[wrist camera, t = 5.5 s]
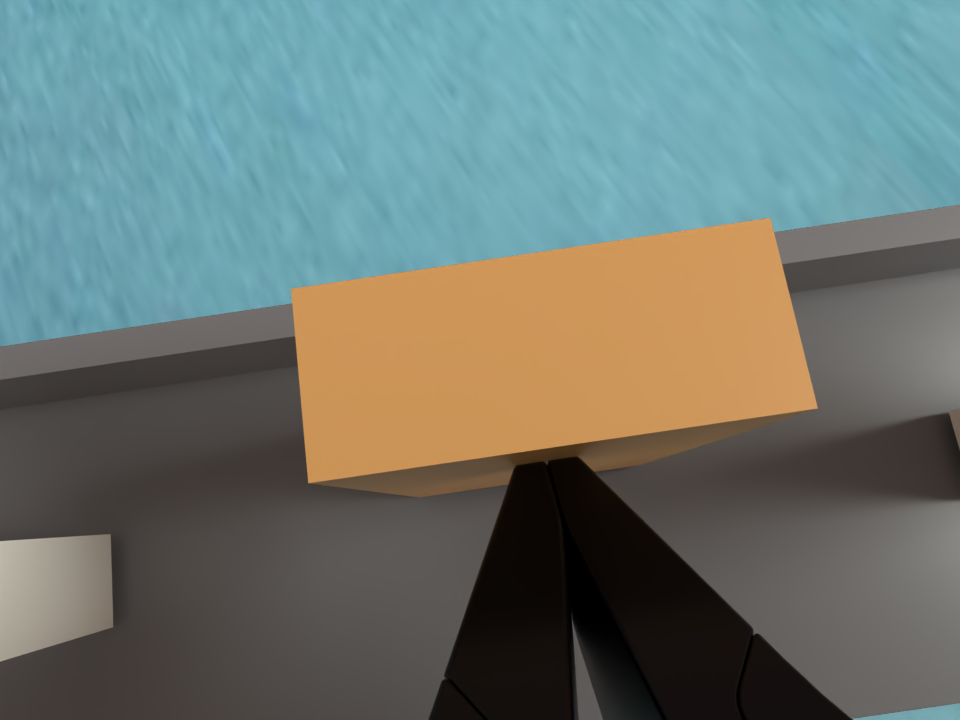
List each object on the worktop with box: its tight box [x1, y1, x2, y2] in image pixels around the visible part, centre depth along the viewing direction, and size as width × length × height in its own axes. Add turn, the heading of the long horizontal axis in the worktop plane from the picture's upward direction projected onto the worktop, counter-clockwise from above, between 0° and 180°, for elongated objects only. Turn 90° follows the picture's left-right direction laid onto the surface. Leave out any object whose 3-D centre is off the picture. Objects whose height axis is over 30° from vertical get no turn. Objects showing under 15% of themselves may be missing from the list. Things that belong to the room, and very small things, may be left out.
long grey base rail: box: [0, 205, 960, 720], centre depth 15 cm, size 10×34×4 cm, turn 98°
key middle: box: [291, 218, 818, 498], centre depth 11 cm, size 2×5×9 cm, turn 98°
